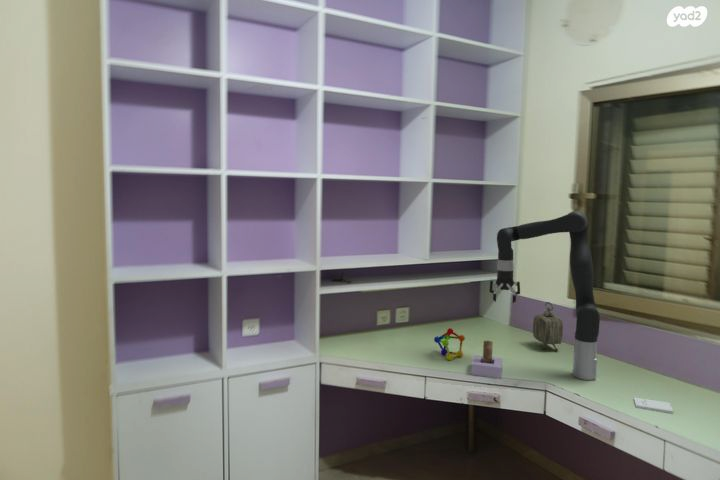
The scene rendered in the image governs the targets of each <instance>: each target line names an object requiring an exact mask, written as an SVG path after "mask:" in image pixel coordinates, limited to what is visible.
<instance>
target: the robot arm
mask: <svg viewBox="0 0 720 480" xmlns="http://www.w3.org/2000/svg"><path fill="white" fill-rule="evenodd" d="M558 233H569V239H570V251H569V268H570V275H571V280H572V285H573V289H574V292H575V316H576V322H575V323H576V324H575V333H574V344H573V345H574V346H573V358H572V359H573V360H572V361H573V362H572V377H575V378H576V379H580V380H582V381H583V380H586V381H593V380H595V381H596V379H597V378H596V377H597V366H598V365H597V364H598V358H597V350H598V337H599V334H600V333H599V332H600V324H601V323H600V320H601V315H600V312H599V310H598V309H597V306H596V302H595V296H594V278H595V277H594V276H595V275H594V266H593V258H592V253H591V248H590V244H589V219H588V217H587V215H586V214H585V213H584V212H583V211H581V210H574V211H570V212H568V213H567V214H565V215H562V216H560V217H556V218H553V219H548V220H542V221H541V220H540V221H534V222H528V223H522V224H520V225H516V226H510V227H504V228H501V229H499V230H498V232H497V234H496V244H497V249H498V250H497V251H498V253H497V264H496V265H497V270H496V278H497V279H496V280H494V279H491V280H490V281H489V290H488V291H489V293H491V294H492V300H493V301H494V302H495V303H496V302H497V293H498V292H499V290H500V291H501V290H502V291H503V290H504V291H505V290H506V291H510V292H511V293H512V303H513V304H515V302H516V301H517V296H519V295H521V282H520V281H514V270H515V268H514V249H513V248H512V242H516V241H520V240H527V239H533V238H537V237H542V236H546V235H551V234H558ZM494 285H496V288H494V287H493V286H494ZM514 285H515V287H517V288H516V289H517V291H515V289H514V287H513V286H514ZM493 288H494V290H493Z"/></svg>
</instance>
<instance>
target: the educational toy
mask: <svg viewBox="0 0 720 480" xmlns="http://www.w3.org/2000/svg"><path fill="white" fill-rule="evenodd" d="M465 337H466V336H465V335H463V334H460V335H459V334H458V333H456V332H454V329H453V328H451V327H449V328H448V329H447V330H446V332H445V333H443V334H442V335H439V336H437V335H436V336H435V337H434V338H433V341H434V343H436V344H438V346H439V347H440V354H441V355H442V354H443V355H442V356H446V360H447V361H452V360H453V359H454V358H455V357H459V358H462V357H463V356H464V353H463V351H462V348H463V347H462V346H463V342H464V341H465V339H466V338H465ZM450 339H454V340H455V339H456V340H457V339H458V340H459V349H458V351H457V352H455V351H450V348H449V344H450V343H449V340H450ZM441 343H442V344H441Z"/></svg>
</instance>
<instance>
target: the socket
mask: <svg viewBox="0 0 720 480" xmlns="http://www.w3.org/2000/svg"><path fill="white" fill-rule="evenodd" d="M502 370H503V357H495V356H492V364H489V363H483V355H479V354H474V355H473V359H472V362H471V370H470V371H471V374H472V376H479V377H486V378H494V379H502Z"/></svg>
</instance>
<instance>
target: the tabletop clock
mask: <svg viewBox="0 0 720 480" xmlns="http://www.w3.org/2000/svg"><path fill="white" fill-rule="evenodd" d="M547 304H548V305H550V306H551V308H550V307H547ZM544 306H545V309H546V310H545V311H544V312H543V314H536V315H534V317H533V325H532V326H533V327H532V336H533V338H534V339H535V340H537V342H540V343H542V345H541V346H540V347H541V349H542V350H543V349H545V346H546V345H552V346H553V348H554V351H555V352H559V349H558V348H557V347H556V345H560V344H562V341H563V335H564V331H563V330H564V326H563V325H564V324H563V320H562V318H561V317H559V316H558V315H555V314H554V312H553V309H554V306H553V304H552V303H551V302H550V301H549V302H548V301H547V302H545V305H544Z"/></svg>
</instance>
